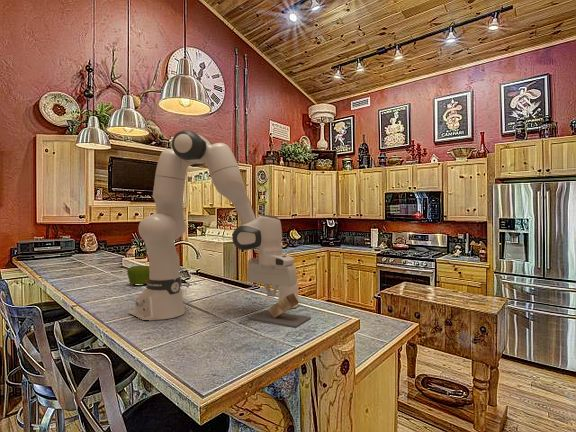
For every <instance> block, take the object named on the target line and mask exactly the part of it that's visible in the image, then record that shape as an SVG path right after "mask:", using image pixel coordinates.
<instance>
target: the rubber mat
mask: <svg viewBox="0 0 576 432" xmlns="http://www.w3.org/2000/svg"><path fill="white" fill-rule="evenodd" d="M247 320H250V321H251V320H252V321H255V322H261V323H268V324H272V325H278V326H283V327H289V328H294V329H296V328H298V327H301V326H302V325H303V324H305V323H306V322H308V321H309V320H311V317H310V316H307V315H306V316H305V315H300V314H299V315H298V314H293V313H286V312H284V313H283V314H281V315H280V316H278V317H276V318H273V316H272V314H271V312H270V310H269V309H268V310H266V309H264V310H262V311H259V312H257V313H256V314H253V315H251V316H249V317H247Z"/></svg>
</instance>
